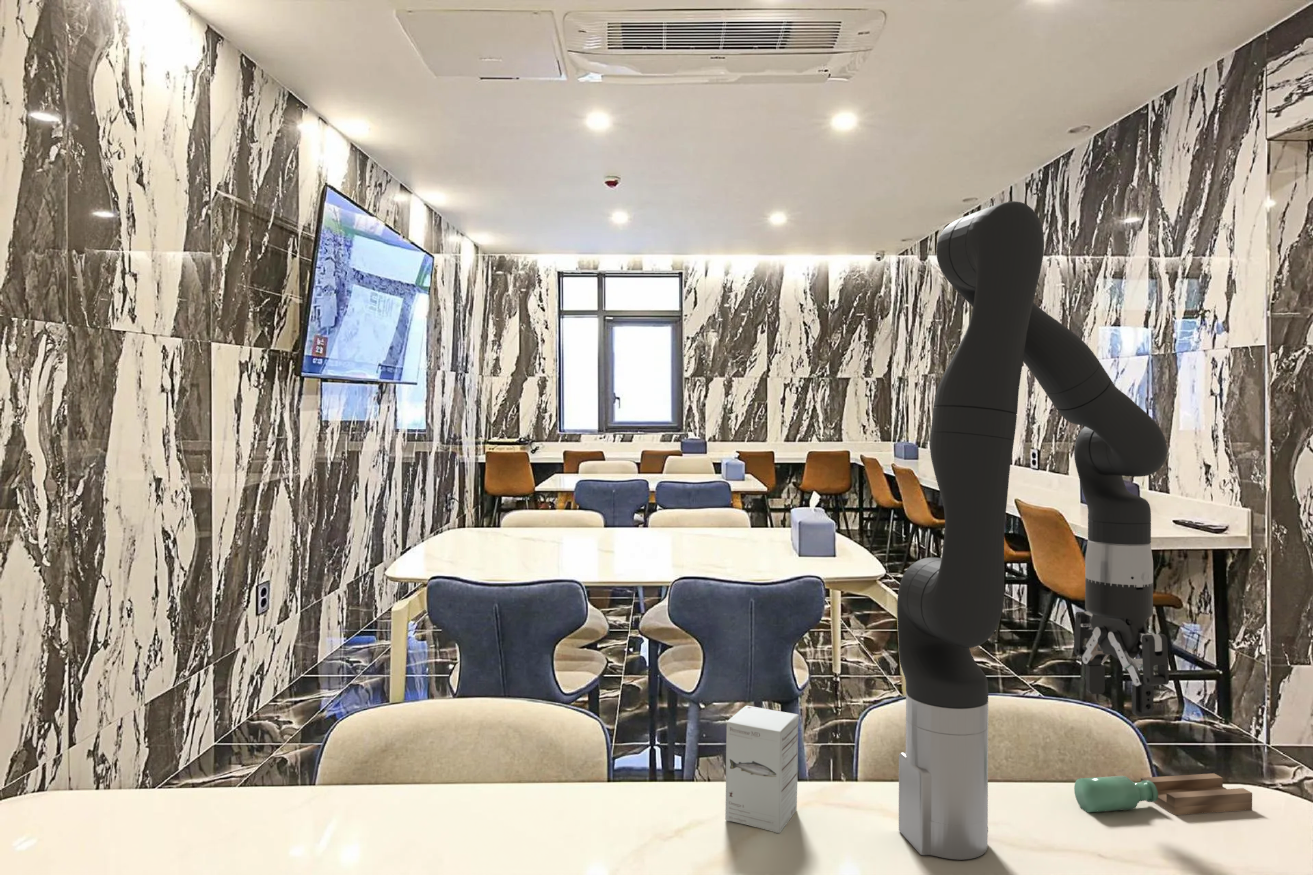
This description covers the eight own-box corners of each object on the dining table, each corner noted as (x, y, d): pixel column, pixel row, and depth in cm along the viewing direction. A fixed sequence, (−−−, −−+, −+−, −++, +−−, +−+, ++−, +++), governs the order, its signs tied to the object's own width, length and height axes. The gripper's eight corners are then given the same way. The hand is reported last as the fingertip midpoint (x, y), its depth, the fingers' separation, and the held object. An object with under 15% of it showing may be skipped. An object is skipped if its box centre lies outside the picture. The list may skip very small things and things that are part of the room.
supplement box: (723, 821, 101) (723, 720, 101) (745, 798, 108) (745, 703, 108) (780, 835, 98) (780, 730, 98) (799, 810, 104) (799, 712, 104)
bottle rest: (1174, 814, 103) (1174, 797, 103) (1140, 794, 109) (1140, 777, 109) (1252, 809, 105) (1252, 792, 104) (1214, 789, 110) (1214, 773, 110)
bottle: (1098, 809, 102) (1087, 775, 104) (1080, 814, 105) (1070, 780, 107) (1166, 805, 103) (1154, 771, 105) (1147, 809, 106) (1135, 777, 108)
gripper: (1056, 568, 110) (1056, 687, 110) (1131, 588, 96) (1130, 725, 96) (1107, 567, 111) (1106, 685, 111) (1188, 586, 97) (1188, 722, 97)
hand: (1117, 703), depth 104 cm, fingers open, 8 cm apart
